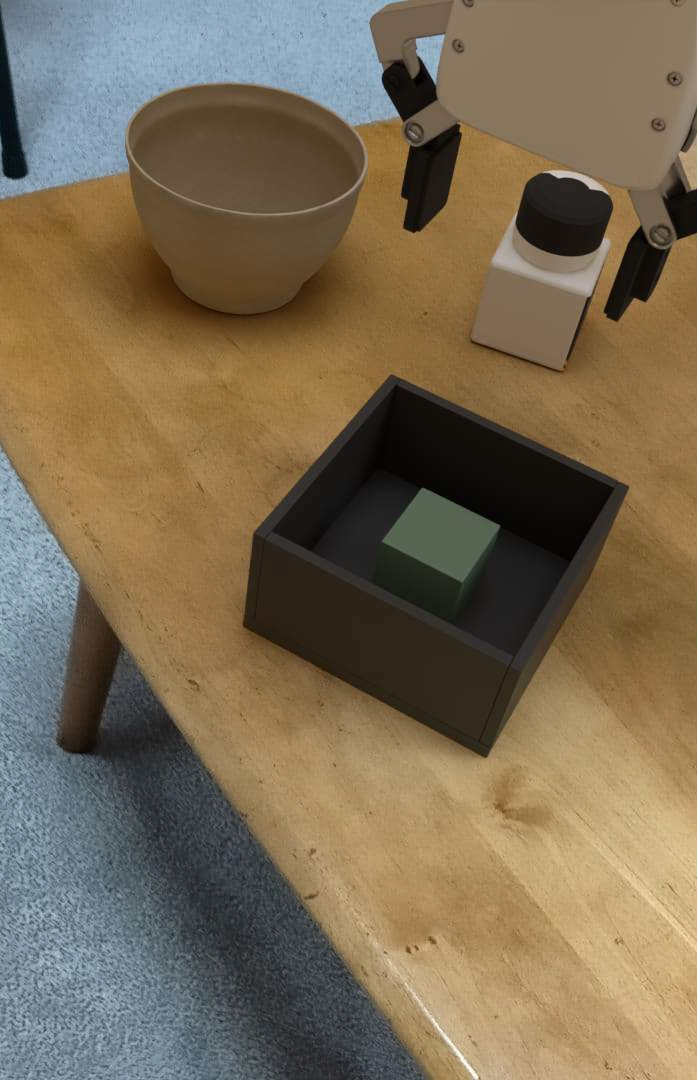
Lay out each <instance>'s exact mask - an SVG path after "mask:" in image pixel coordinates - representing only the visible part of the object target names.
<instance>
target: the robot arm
mask: <svg viewBox="0 0 697 1080" xmlns="http://www.w3.org/2000/svg"><path fill="white" fill-rule="evenodd" d="M369 29H370V32H371V36H372V40H373V44H374V47H375V51H376V56H377V59H378V62H379V64H381V66H382V70H383V72H382V74H381V84H382V87H383V89H384V90H385V93H386V94H387V96H388V98H389V100H390V101H391V103H392V104H393V106H394V108H395V110H396V112H397V113H398V115H399V117H400V119H401V121H402V122H403V123H402V126H401V130H400V131H401V136H402V138H403V140H404V141H405V143H407V144H408V145H409V148H408V153H407V159H406V164H405V168H404V174H403V180H402V184H401V185H402V186H401V191H400V197H401V198H402V199H404V200H407V204H406V209H405V213H404V218H403V224H402V228H403V230H405V231H408V232H410V233H412V234H416V233H421V232H422V231H423V230H424V228H425V227H427V226H428V225H429V223H431V221H432V220H433V219H434V218H435V217H436V216H437V215H438V214H439V213H440V212H441V211H442V210H443V209H444V208H445V207H446V205H447V203H448V199H449V196H450V191H451V186H452V183H453V177H454V173H455V168H456V164H457V159H458V155H459V150H460V147H461V142H462V136H463V133H462V132H461V126H462V125H461V124H460V122H461V123H462V124H464V125H465V126H467V127H469V128H472V129H474V130H476V131H478V132H481V133H482V134H484V135H485V134H486V135H488V136H490V137H492V138H495V139H497V140H500V141H502V142H504V143H507V144H509V145H511V146H514V147H516V148H519V149H521V150H523V151H526V152H528V153H530V154H533V155H535V156H538V157H541V158H543V159H545V160H548V161H550V162H553V163H555V164H558V165H560V166H563V167H565V168H567V169H570V170H573V171H574V172H575V171H576V173H579V174H582V175H584V176H587V177H589V178H591V179H594V180H597V181H600V182H603V183H604V184H605V183H606V184H608V185H610V186H614V187H616V188H619V189H624V190H626V191H627V193H628V196H629V199H630V201H631V204H632V206H633V208H634V211H635V214H636V216H637V218H638V221H639V223H640V224H639V226H638V228H637V229H636V231H635V232H634V233H633V234H632V236H631V238H630V239H629V241H628V242H627V245H626V247H625V250H624V253H623V256H622V258H621V261H620V263H619V267H618V269H617V273H616V275H615V278H614V281H613V284H612V287H611V288H610V292H609V295H608V297H607V300H606V302H605V305H604V308H603V311H602V312H603V314H605V315H606V316H605V318H607V319H609V320H611V321H613V322H615V323H618V322H619V321H620V320H621V318H622V317H623V315H624V314H625V312H626V311H627V310H628V308H629V307H630V305H631V303H632V302H633V301H634V299H636V300H639V301H640V302H643V303H645V304H646V303H647V302H649V299H650V298H651V296H652V295H653V293H654V291H655V289H656V287H657V285H658V283H659V281H660V278H661V277H662V274H663V271H664V268H665V265H666V263H667V261H668V257H669V255H670V253H671V250H672V247H673V245H674V244H675V242H676V241H679V240H682V239H684V238H687V237H690V236H693V235H696V234H697V188H695V189H694V188H693V189H692V187H691V184H690V182H689V179H688V176H687V174H686V171H685V169H684V166H683V163H682V160H681V158H680V155H679V154H680V153H681V152H682V153H684V154H686V153H687V152H688V151H689V150H690V149H691V147H692V145H694V143H695V140H696V139H697V0H401V1H396V2H390V3H388V4H386V5H385V6H383V7H382V8H380V9H379V10H378V11H376V12H375V13H374V14H373V15H372V16H371V17H370V19H369ZM443 35H444V37H443V41H442V46H441V50H440V55H439V59H438V64H437V71H436V80H435V81H434V79H433V78H432V76H431V74H430V72H429V71H428V68H427V67H426V65H425V62H424V61H423V60H422V58H421V57H420V56H419V55H418V52H417V51H418V46H417V41H416V39H417V40H418V39H424V38H430V37H438V36H443Z"/></svg>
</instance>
